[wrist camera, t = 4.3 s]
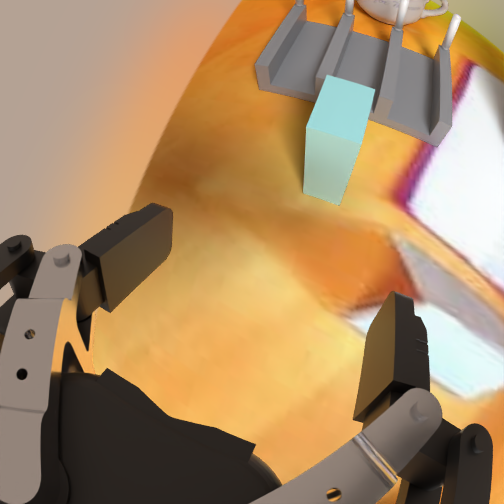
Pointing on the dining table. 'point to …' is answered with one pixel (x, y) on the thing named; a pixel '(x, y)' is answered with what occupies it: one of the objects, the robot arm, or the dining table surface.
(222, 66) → the dining table surface
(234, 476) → the robot arm
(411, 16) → the teacup
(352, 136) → the teal rectangular block
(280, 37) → the dish rack
